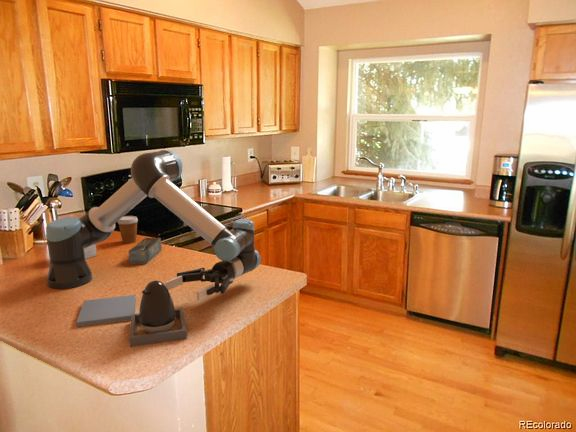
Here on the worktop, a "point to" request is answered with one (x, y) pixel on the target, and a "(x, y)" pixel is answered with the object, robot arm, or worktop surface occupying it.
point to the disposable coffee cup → (128, 228)
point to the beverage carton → (145, 250)
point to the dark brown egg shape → (156, 308)
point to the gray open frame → (157, 336)
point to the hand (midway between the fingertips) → (181, 291)
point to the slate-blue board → (106, 310)
